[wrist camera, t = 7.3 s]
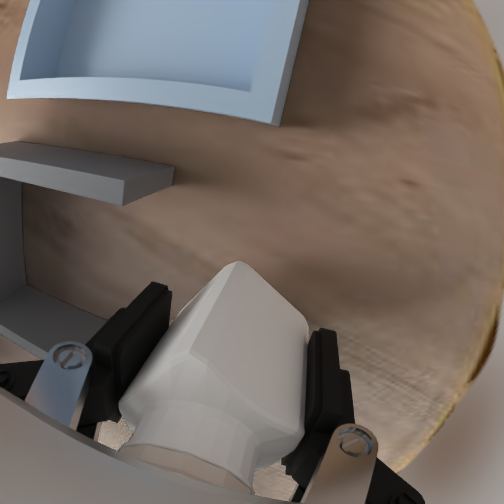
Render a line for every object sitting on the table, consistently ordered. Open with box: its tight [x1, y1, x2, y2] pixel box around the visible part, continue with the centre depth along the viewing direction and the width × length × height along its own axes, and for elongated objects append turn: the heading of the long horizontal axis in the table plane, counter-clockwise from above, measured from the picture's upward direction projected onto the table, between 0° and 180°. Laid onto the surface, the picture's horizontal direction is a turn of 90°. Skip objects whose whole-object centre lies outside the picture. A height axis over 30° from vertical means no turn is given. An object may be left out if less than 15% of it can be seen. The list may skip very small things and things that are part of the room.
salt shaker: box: [118, 260, 309, 495], centre depth 8 cm, size 4×4×10 cm
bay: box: [0, 141, 175, 360], centre depth 13 cm, size 10×10×4 cm
